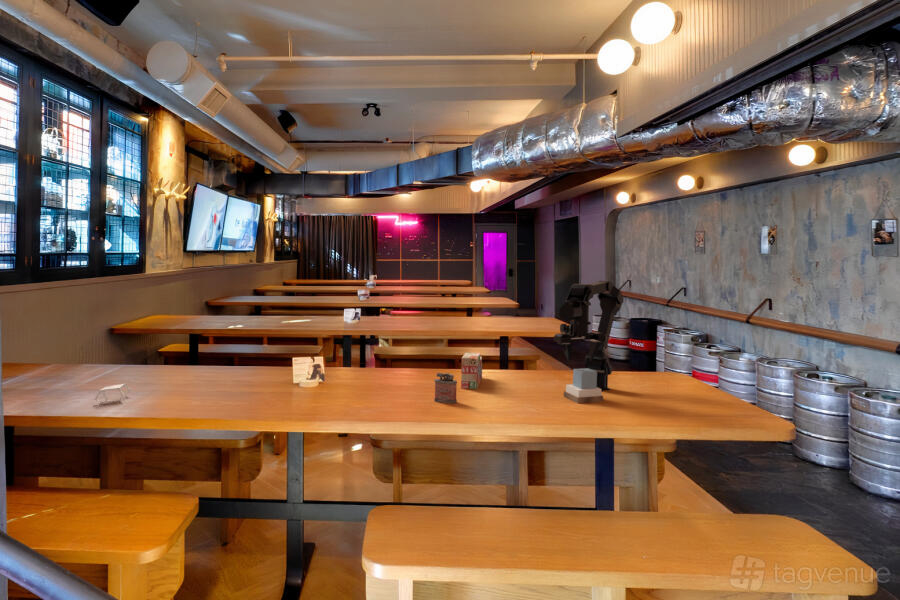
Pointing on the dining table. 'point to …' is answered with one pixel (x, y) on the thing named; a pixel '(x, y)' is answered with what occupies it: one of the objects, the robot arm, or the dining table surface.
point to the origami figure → (114, 387)
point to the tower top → (583, 391)
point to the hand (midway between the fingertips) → (579, 360)
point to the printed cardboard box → (471, 370)
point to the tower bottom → (583, 398)
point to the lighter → (445, 388)
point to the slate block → (585, 378)
